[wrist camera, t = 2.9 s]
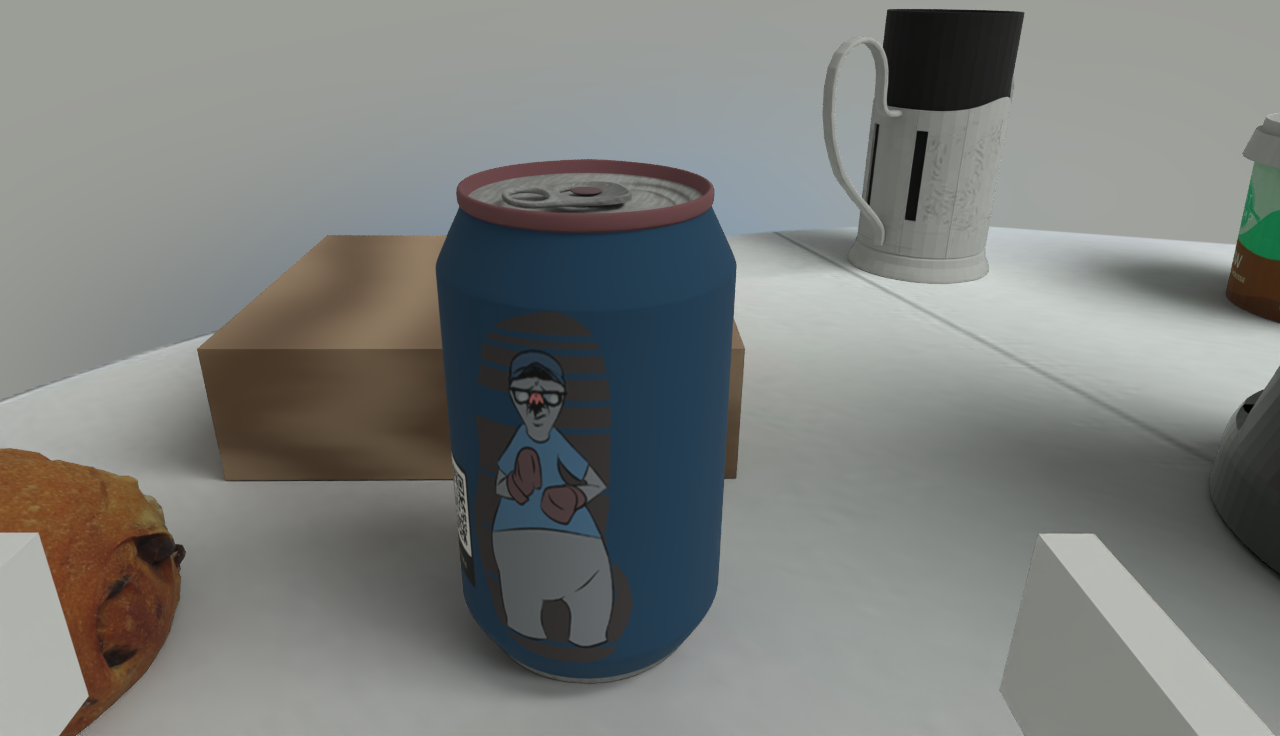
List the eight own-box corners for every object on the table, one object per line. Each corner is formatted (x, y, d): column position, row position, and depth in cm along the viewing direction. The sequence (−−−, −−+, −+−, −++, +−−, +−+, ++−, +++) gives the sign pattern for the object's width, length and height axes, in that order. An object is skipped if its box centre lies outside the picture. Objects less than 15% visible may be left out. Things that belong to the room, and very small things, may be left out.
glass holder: (1017, 268, 54) (1068, 12, 48) (866, 310, 47) (903, 14, 41) (906, 237, 61) (939, 8, 55) (758, 269, 53) (776, 9, 47)
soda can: (663, 521, 28) (673, 149, 23) (758, 665, 22) (799, 207, 17) (449, 561, 26) (411, 162, 21) (491, 735, 20) (451, 233, 15)
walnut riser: (699, 332, 43) (703, 236, 41) (736, 477, 31) (744, 348, 29) (341, 332, 43) (327, 235, 41) (225, 480, 30) (197, 349, 28)
